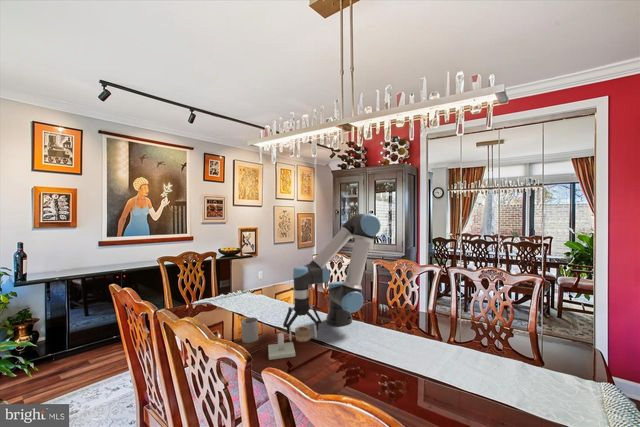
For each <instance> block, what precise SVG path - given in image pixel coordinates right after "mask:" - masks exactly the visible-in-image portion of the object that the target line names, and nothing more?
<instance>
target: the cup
mask: <svg viewBox="0 0 640 427" xmlns="http://www.w3.org/2000/svg"><path fill="white" fill-rule="evenodd" d="M240 323H241V326H240V327H241V342H242V343H244V344H245V343H247V344H249V343H250V344H251V343H254V342H255V343H256V342H257V341H258V340H259V324H258V323H259V322H258V318H257V317H254V316H253V317H246V318H243V319H242V320H241V322H240Z"/></svg>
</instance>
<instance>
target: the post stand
mask: <svg viewBox="0 0 640 427" xmlns="http://www.w3.org/2000/svg"><path fill="white" fill-rule="evenodd" d="M284 336H285V334H284V333H283V332H279V333H277V343H274V344H268V345H267V348H268V360H269V361H270V360H278V359H286V358H293V357H296V350H295V345H294V342H293V341H289V342H285V337H284Z"/></svg>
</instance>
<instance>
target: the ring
mask: <svg viewBox="0 0 640 427" xmlns="http://www.w3.org/2000/svg"><path fill="white" fill-rule="evenodd" d="M294 333H295V341H297V342H300V343H304V342H308V341H310V340H312V333H311V327H310V326H308V325H307V326H306V325H302V326H301V325H300V326H298V327H296V328H295V329H294Z"/></svg>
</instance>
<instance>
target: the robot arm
mask: <svg viewBox="0 0 640 427" xmlns="http://www.w3.org/2000/svg"><path fill="white" fill-rule="evenodd" d="M380 231H381V222H380V220H379V218H378V216H376V215H374V214H371V213H356V214H353V215H352V216H350V217H349V218H348V219H347V220H346V221H345V223H343V225H342V226H340V229H339V231H338V232H337V233H336V235H334V236H333V237H332V239H331V240H329V242H328V243H327V244H326V245H325V246H324V247H323V248H322V250H321V251H320V252H319V253H318V254H316V256H315V257H314V258H313V259H312V260H311V261H310V263H306V264H304V265H303V266H302V265H301V266H300V265H299V266H296V267H294V268H293V269H292V271H293V272H292V273H293V274H292V278H293V300H294V302H293V303H294V305H293V307H291V306H289V307H288V310H287V314H286V316H285V318H284V321H283V324H282V325H283V328H286V332H287V335H289V336H288V337H289V338H288V339H289V342H292V328H291V326H292V324H293V323H294V322H295V320H296V319H297V318H298V316H300V317H301V316H306V315H307V316H308V317H309V318H310V319H311V320H312V321H313V332H314V333H313V334H314V335H313V336H314V338H315V339H317V335H318V333H317V332H318V331H319V325H320V324H322V320H321V318H320V316H319V314H318V312H317V310H316V306H315V304H312V305H310V297H309V296H310V294H309V293H310V292H309V285H310V286H311V285H318V284H324V283H328V287H327V291H328V292H327V293H328V312H327V314H326V323H327V324H328V325H331V326H337V327H343V326H347V325H350V324H351V323H352V322H353V315H352V313H356V312H358V311H359V310H361V309H362V308H363V305H364V297H363V294H362V293H363V288H362V287H363V286H362V279H363V275H364V271H365V267H366V263H367V259H368V254H369V250H370V245H371V242H373V241H374V240H375V236H376V235H377V234H378V233H379V232H380ZM350 239H354V242H353V246H352V251H351V255H350V260H349V264H348V269H347V271H346V272H347V273H346V277H345V280H344V281H342V280H341V281H333V282H330V280H331V272H330V269H329V268H327V267H326V266H327V264H328V263H329V262H330V261H331V260H332V259H333V258H334V257H335V256H336V255H337V253H338V252H339V251H340V250H342V248H343V247H344V246H345V245H346V244H347V243H348V242H349V240H350ZM325 267H326V268H325ZM329 282H330V283H329ZM310 310H312V311H313V312H314V315H315V317H316V318H315V317H314V316H313V315H312V313H310V312H309V311H310ZM293 311H294V314H293V315H292V316H291V314H292V312H293ZM290 316H291V317H290ZM316 319H317V320H316Z"/></svg>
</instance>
